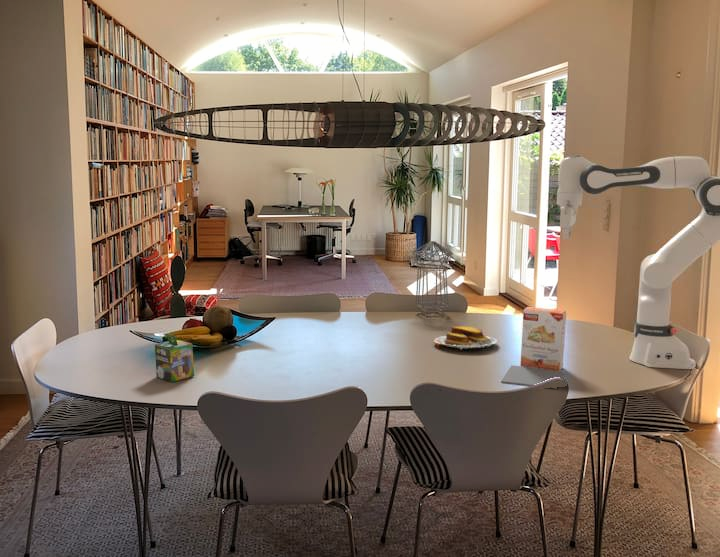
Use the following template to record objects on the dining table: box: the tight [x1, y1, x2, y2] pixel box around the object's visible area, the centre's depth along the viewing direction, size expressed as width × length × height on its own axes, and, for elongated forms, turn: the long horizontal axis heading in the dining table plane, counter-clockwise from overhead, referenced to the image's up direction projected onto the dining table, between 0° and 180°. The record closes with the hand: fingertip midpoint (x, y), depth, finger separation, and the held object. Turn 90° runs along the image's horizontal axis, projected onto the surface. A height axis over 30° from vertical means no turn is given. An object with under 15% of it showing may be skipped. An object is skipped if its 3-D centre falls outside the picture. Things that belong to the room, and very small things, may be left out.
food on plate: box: [433, 325, 499, 351], centre depth 287 cm, size 25×25×7 cm
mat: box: [501, 364, 565, 387], centre depth 245 cm, size 18×20×1 cm
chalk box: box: [154, 333, 195, 383], centre depth 241 cm, size 9×9×15 cm
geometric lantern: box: [411, 240, 454, 318], centre depth 340 cm, size 16×16×35 cm
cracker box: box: [520, 306, 567, 371], centre depth 256 cm, size 14×6×21 cm, turn 62°
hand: (566, 237), depth 269 cm, fingers open, 8 cm apart
